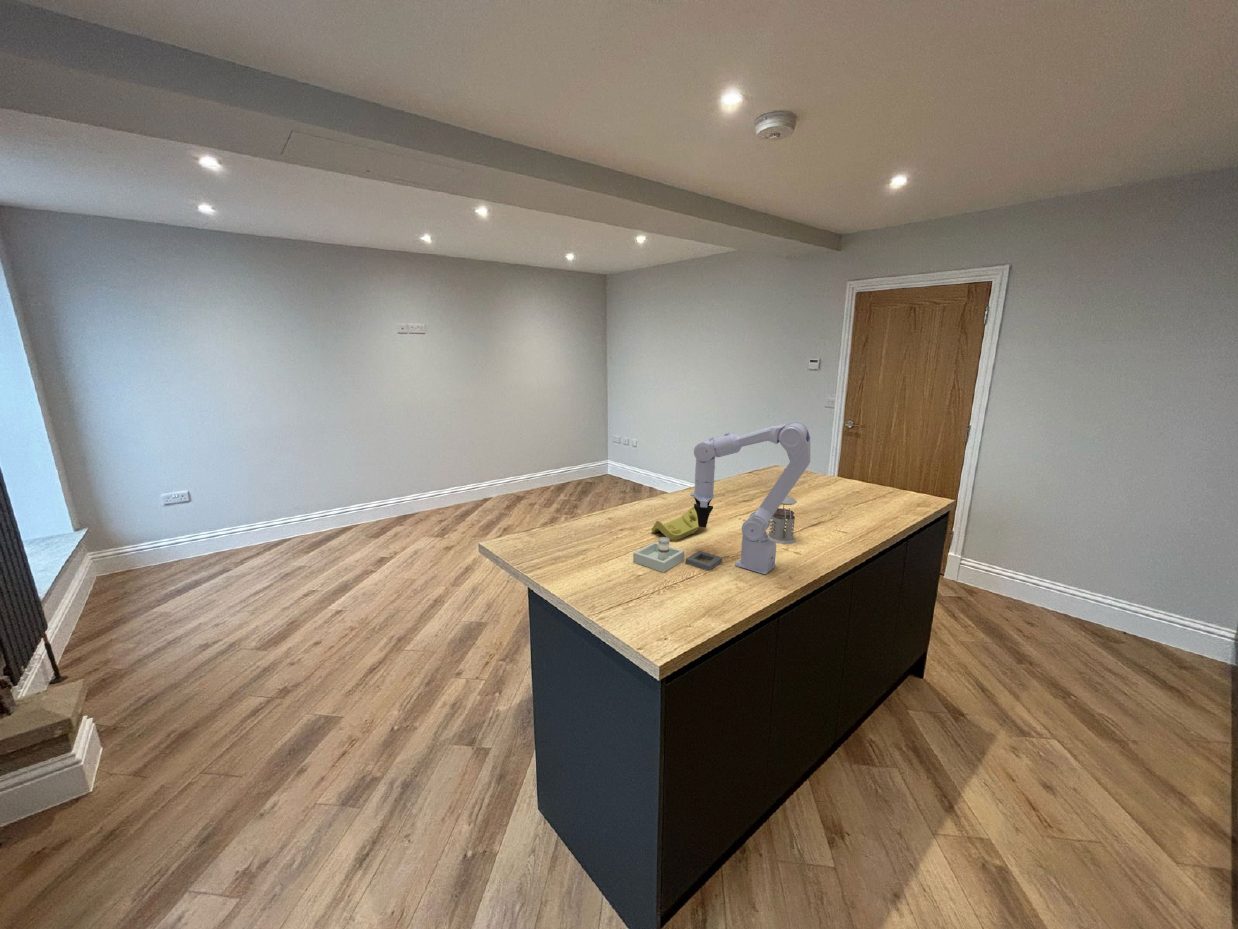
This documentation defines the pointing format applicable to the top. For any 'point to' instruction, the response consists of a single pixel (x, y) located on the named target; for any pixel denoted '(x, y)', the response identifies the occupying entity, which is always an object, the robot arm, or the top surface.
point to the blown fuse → (663, 548)
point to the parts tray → (650, 557)
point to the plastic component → (678, 526)
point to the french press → (783, 523)
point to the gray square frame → (696, 562)
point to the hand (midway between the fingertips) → (702, 522)
